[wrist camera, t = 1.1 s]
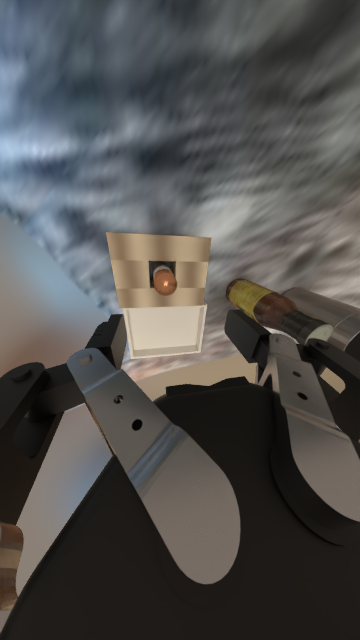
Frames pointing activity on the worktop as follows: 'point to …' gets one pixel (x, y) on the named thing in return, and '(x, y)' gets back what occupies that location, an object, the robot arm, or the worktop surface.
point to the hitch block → (139, 249)
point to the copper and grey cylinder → (164, 279)
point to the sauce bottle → (276, 311)
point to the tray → (164, 330)
